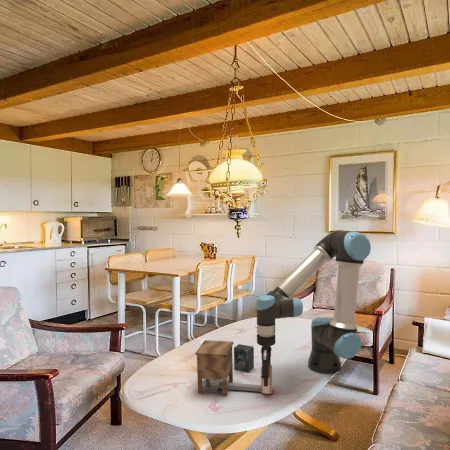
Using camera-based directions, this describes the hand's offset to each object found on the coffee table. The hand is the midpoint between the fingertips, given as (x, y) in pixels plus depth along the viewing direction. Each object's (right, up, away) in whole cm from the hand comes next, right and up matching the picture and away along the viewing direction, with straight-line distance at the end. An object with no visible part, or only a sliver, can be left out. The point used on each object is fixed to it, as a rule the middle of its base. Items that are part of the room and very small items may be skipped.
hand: (266, 389), depth 160 cm
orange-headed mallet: (-9, 0, +2) cm, 9 cm away
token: (-22, -2, +5) cm, 23 cm away
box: (-8, 0, +23) cm, 25 cm away
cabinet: (-21, -1, +6) cm, 22 cm away
